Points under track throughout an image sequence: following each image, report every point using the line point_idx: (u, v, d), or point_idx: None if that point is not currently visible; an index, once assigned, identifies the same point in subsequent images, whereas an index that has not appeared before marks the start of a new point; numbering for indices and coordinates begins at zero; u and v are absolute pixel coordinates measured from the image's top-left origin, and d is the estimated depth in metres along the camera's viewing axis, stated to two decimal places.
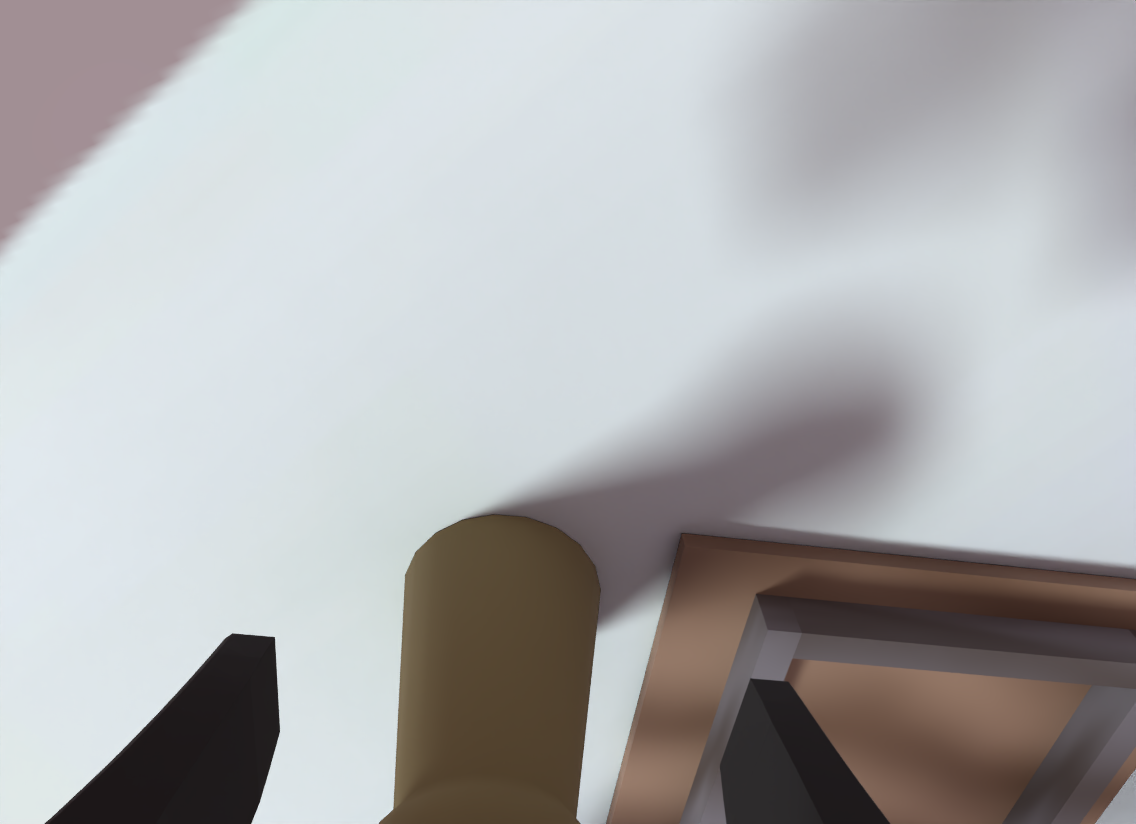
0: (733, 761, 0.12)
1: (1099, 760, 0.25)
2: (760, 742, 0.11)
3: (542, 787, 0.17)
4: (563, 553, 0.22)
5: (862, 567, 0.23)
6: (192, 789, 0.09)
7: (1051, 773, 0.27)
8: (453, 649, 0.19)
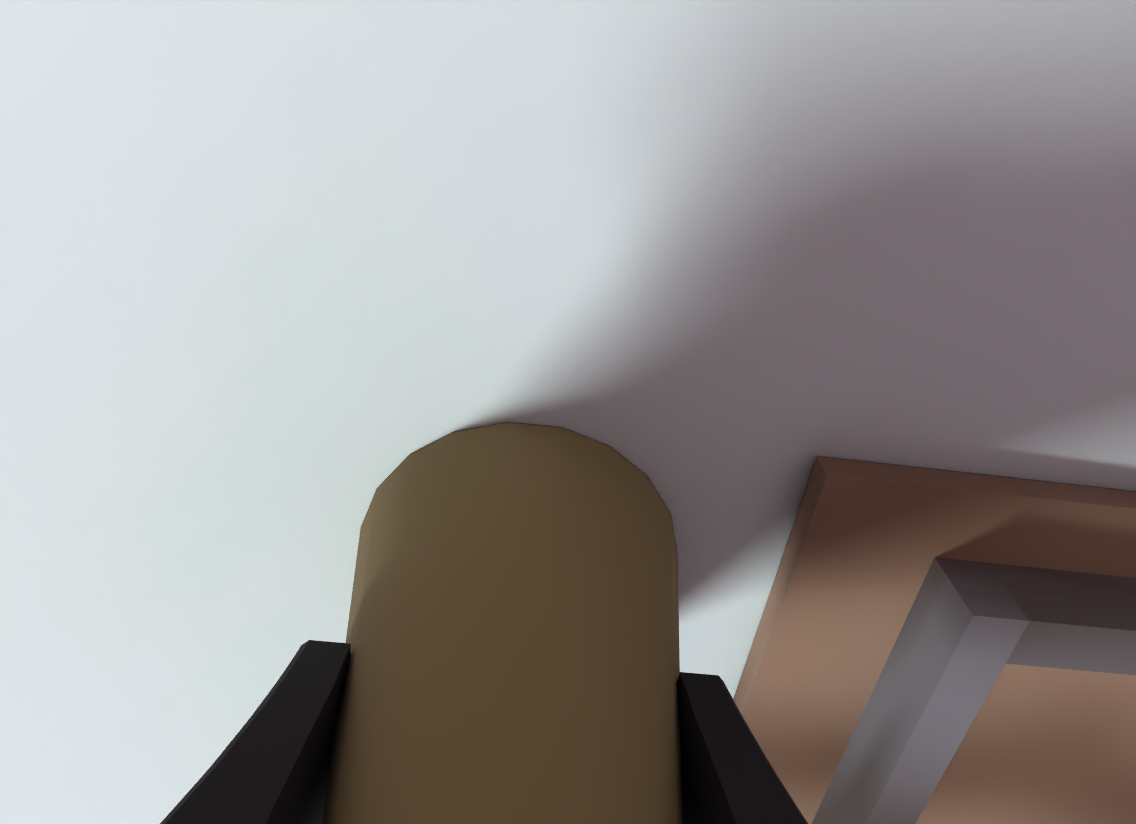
0: None
1: None
2: (685, 736, 0.11)
3: None
4: (624, 486, 0.13)
5: (1117, 512, 0.14)
6: (288, 796, 0.09)
7: None
8: (432, 648, 0.10)
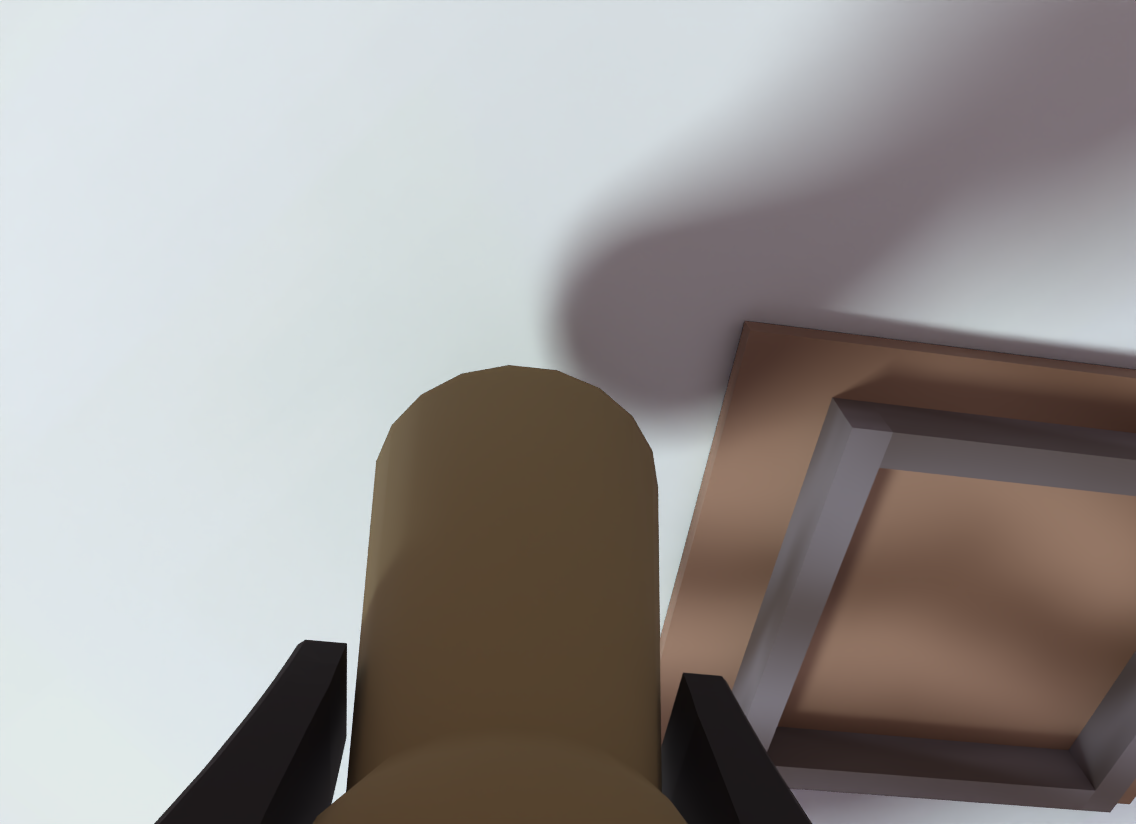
0: (667, 756, 0.12)
1: None
2: (689, 736, 0.11)
3: (613, 754, 0.09)
4: (612, 421, 0.15)
5: (962, 361, 0.19)
6: (284, 795, 0.09)
7: None
8: (451, 537, 0.12)
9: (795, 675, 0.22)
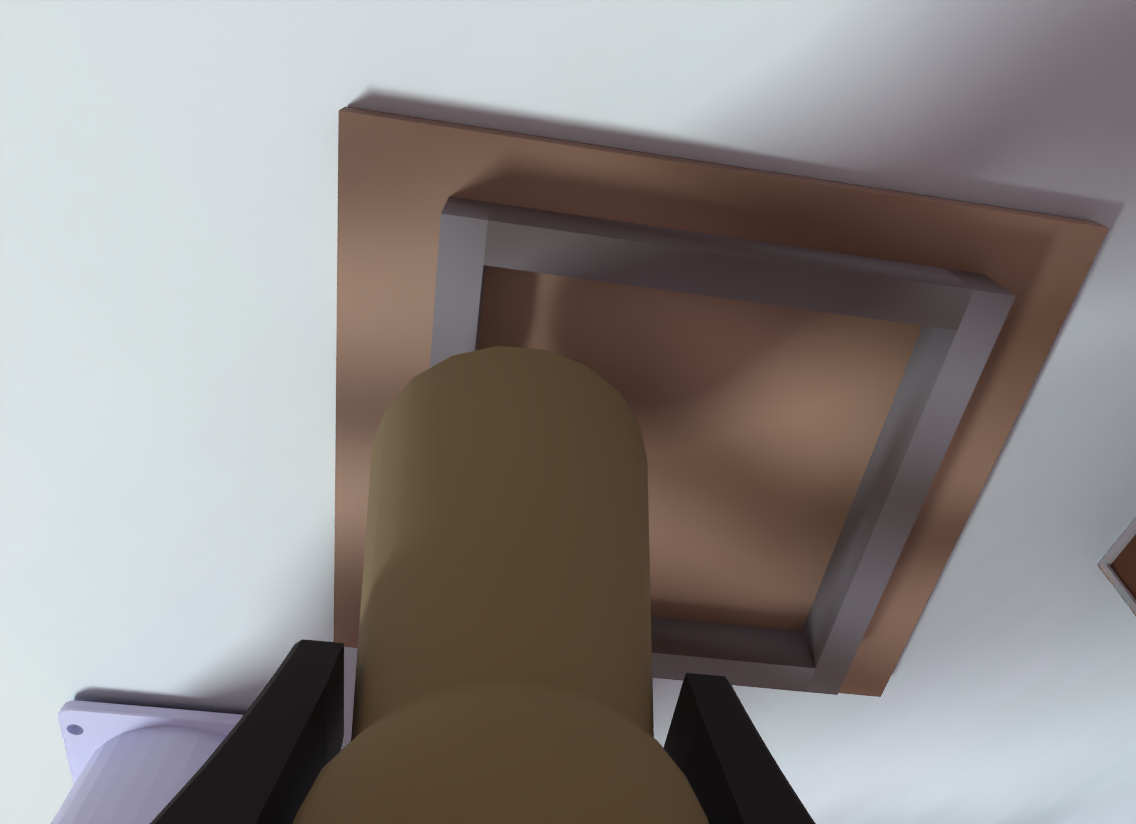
0: (670, 756, 0.12)
1: (913, 449, 0.20)
2: (692, 737, 0.11)
3: (603, 702, 0.10)
4: (599, 396, 0.16)
5: (583, 153, 0.18)
6: (280, 795, 0.09)
7: (867, 491, 0.22)
8: (443, 507, 0.12)
9: None
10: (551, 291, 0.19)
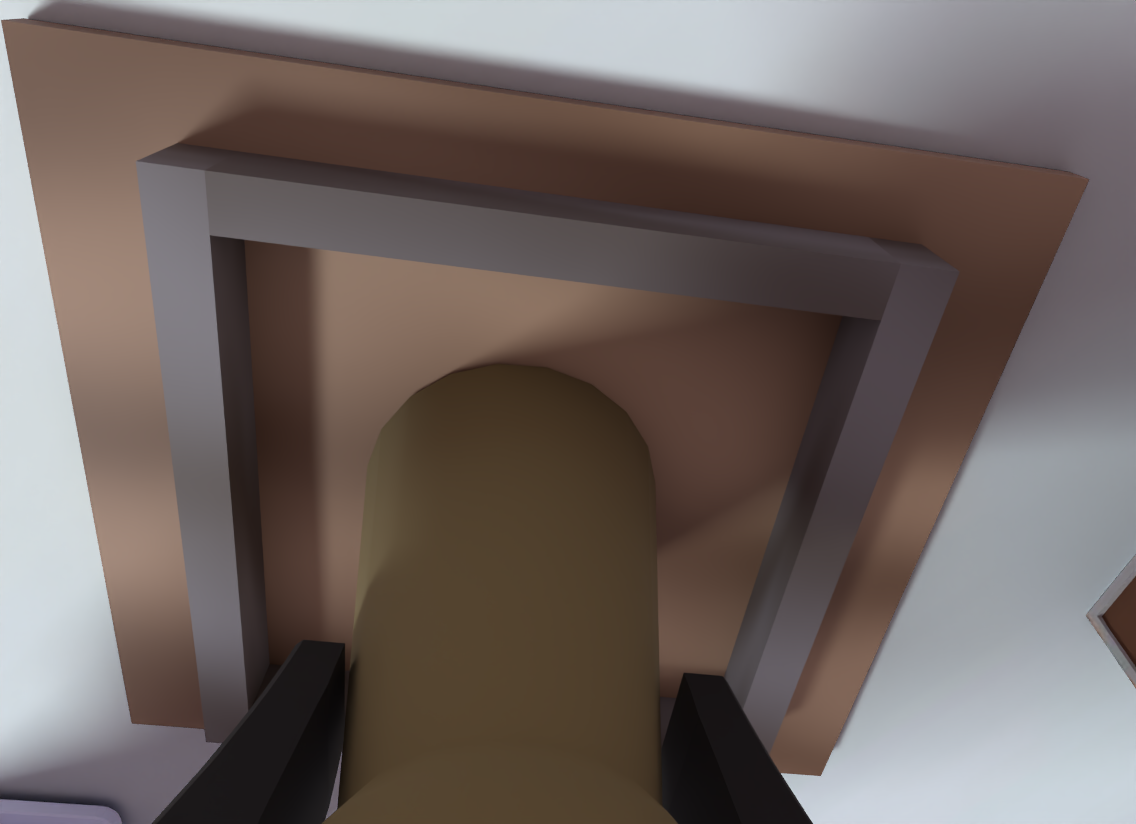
0: (668, 756, 0.12)
1: (832, 481, 0.15)
2: (689, 736, 0.11)
3: (608, 764, 0.09)
4: (605, 417, 0.15)
5: (353, 79, 0.13)
6: (281, 795, 0.09)
7: (782, 532, 0.17)
8: (439, 543, 0.11)
9: (235, 581, 0.16)
10: (338, 273, 0.14)
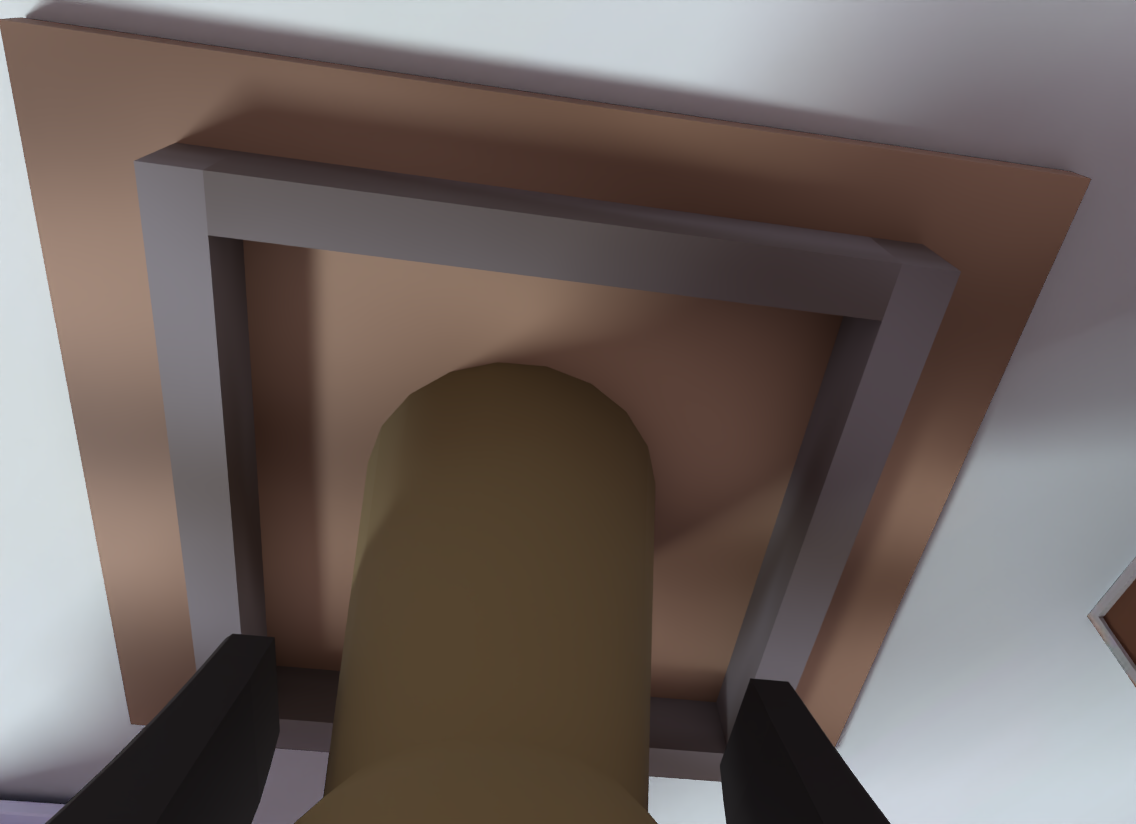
0: (733, 761, 0.12)
1: (833, 481, 0.15)
2: (760, 742, 0.11)
3: (590, 763, 0.09)
4: (603, 417, 0.15)
5: (352, 78, 0.13)
6: (192, 789, 0.09)
7: (783, 532, 0.17)
8: (430, 540, 0.11)
9: (234, 582, 0.16)
10: (337, 274, 0.14)
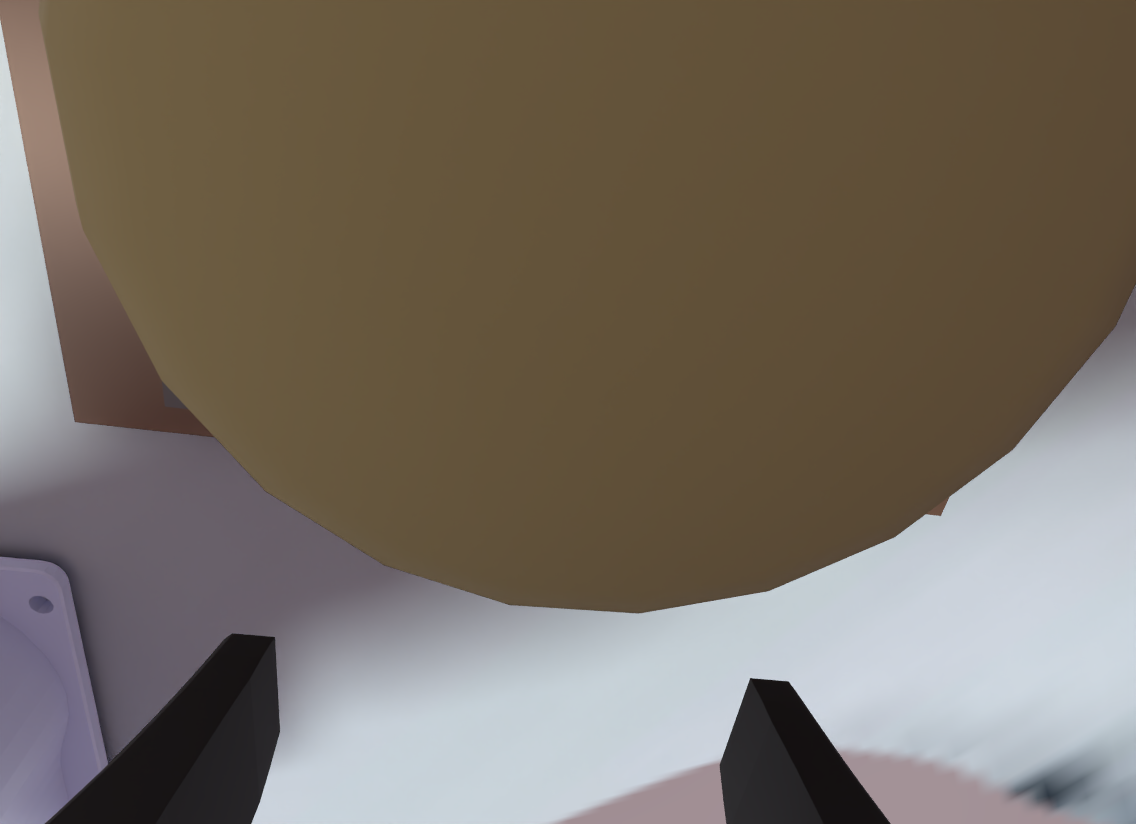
0: (733, 761, 0.12)
1: None
2: (760, 742, 0.11)
3: None
4: None
5: None
6: (192, 789, 0.09)
7: None
8: None
9: None
10: None
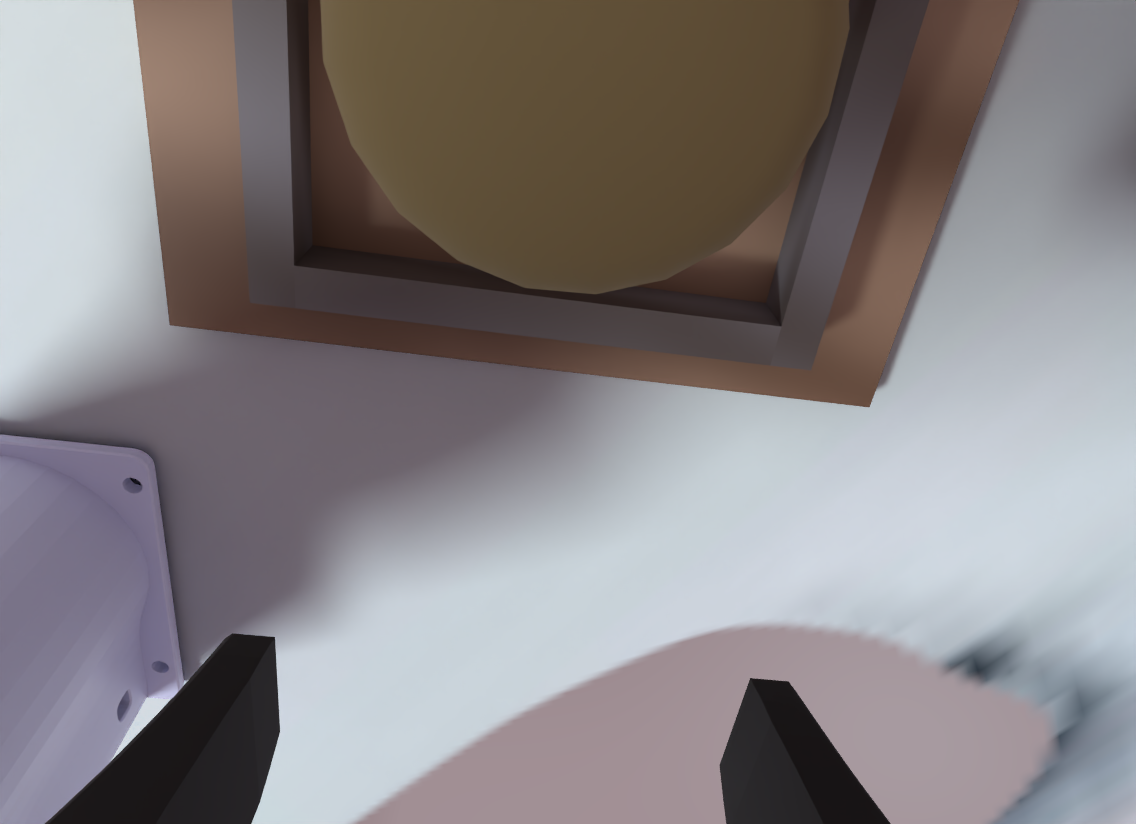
0: (733, 761, 0.12)
1: None
2: (760, 742, 0.11)
3: None
4: None
5: None
6: (192, 789, 0.09)
7: (844, 50, 0.16)
8: None
9: (285, 73, 0.15)
10: None
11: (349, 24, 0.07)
